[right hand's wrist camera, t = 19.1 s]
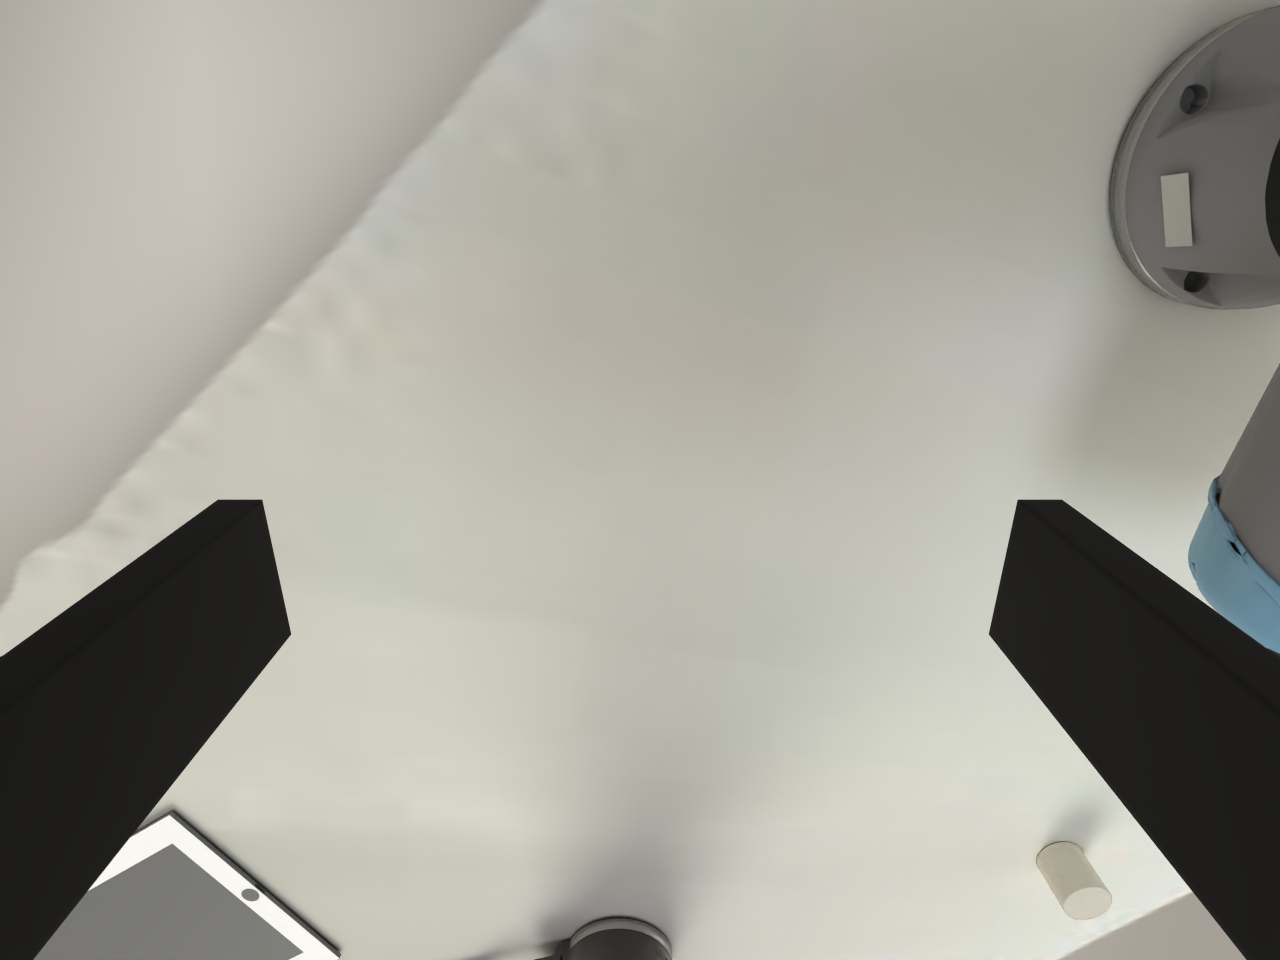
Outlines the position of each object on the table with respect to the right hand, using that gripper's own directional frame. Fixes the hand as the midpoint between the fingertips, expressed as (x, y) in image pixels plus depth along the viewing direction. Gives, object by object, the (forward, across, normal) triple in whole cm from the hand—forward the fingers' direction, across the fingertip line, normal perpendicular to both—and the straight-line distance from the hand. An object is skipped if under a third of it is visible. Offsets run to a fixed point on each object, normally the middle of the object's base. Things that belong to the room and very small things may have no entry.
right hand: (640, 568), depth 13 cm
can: (+32, +35, -46) cm, 66 cm away
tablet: (+32, -46, -57) cm, 80 cm away
